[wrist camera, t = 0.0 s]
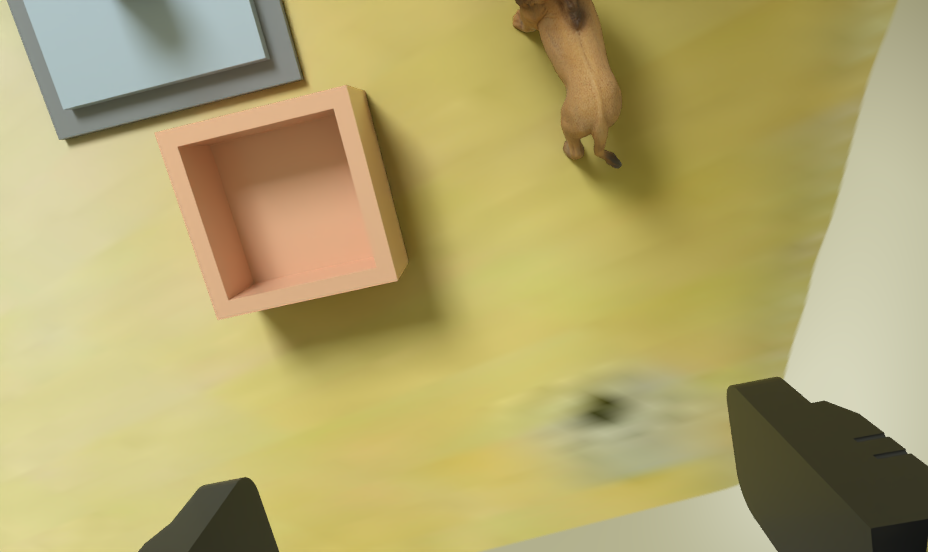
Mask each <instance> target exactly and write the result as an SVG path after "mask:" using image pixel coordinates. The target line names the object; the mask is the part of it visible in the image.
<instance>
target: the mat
mask: <svg viewBox="0 0 928 552" xmlns="http://www.w3.org/2000/svg"><path fill="white" fill-rule="evenodd" d="M253 1H254V4H255V8H256V11H257V15H258V18H259V22H260V25H261V29H262V32H263V36H264V39H265V42H266V46H267V49H268V53H269V56H270V60H266V61H262V62H258V63H254V64H250V65H246V66H242V67H238V68H234V69H231V70H227V71H223V72H219V73H215V74H211V75H207V76H203V77H199V78H195V79H191V80H188V81H184V82H180V83H176V84H172V85H168V86H164V87H160V88H156V89H152V90H148V91H145V92H141V93H137V94H133V95H129V96H125V97H121V98H117V99H113V100H109V101H105V102H102V103H98V104H94V105H90V106H86V107H82V108H78V109H74V110H63V107H62V105H61V102H60V99H59V97H58V94H57V91H56V88H55V86H54V83H53V80H52V78H51V75H50V72H49V69H48V67H47V64H46V61H45V59H44V56H43V53H42V50H41V48H40V45H39V42H38V40H37V37H36V34H35V31H34V29H33V26H32V23H31V21H30V18H29V15H28V13H27V10H26V7H25V4H24V2H23V0H7V2H8V5H9V7H10V10H11V13H12V15H13V18H14V21H15V23H16V26H17V29H18V31H19V34H20V37H21V39H22V42H23V45H24V47H25V50H26V53H27V55H28V58H29V61H30V63H31V66H32V69H33V71H34V74H35V77H36V79H37V82H38V85H39V87H40V90H41V93H42V95H43V98H44V101H45V103H46V106H47V109H48V111H49V114H50V117H51V119H52V122H53V125H54V127H55V130H56V133H57V135H58V138H59V140H65V139H69V138H73V137H77V136H81V135H85V134H89V133H93V132H97V131H101V130H105V129H109V128H113V127H117V126H121V125H125V124H129V123H133V122H137V121H141V120H145V119H149V118H153V117H157V116H161V115H164V114H168V113H172V112H176V111H180V110H184V109H188V108H192V107H196V106H200V105H204V104H208V103H212V102H216V101H220V100H224V99H228V98H232V97H236V96H240V95H244V94H248V93H252V92H256V91H260V90H264V89H268V88H272V87H276V86H280V85H284V84H288V83H292V82H296V81H300V80H304V79H303V75H302V72H301V68H300V65H299V61H298V58H297V54H296V50H295V47H294V43H293V40H292V36H291V32H290V29H289V25H288V22H287V18H286V14H285V11H284V7H283V4H282V0H253Z"/></svg>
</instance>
